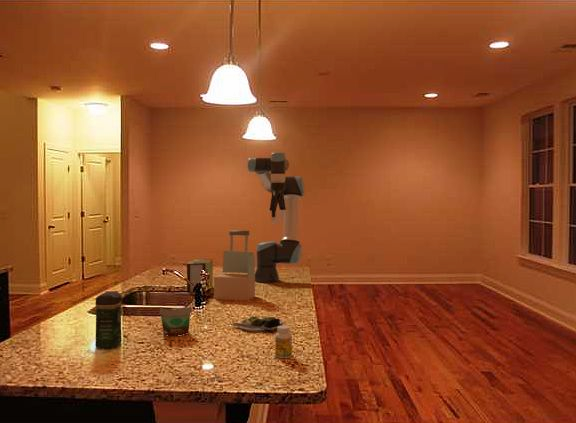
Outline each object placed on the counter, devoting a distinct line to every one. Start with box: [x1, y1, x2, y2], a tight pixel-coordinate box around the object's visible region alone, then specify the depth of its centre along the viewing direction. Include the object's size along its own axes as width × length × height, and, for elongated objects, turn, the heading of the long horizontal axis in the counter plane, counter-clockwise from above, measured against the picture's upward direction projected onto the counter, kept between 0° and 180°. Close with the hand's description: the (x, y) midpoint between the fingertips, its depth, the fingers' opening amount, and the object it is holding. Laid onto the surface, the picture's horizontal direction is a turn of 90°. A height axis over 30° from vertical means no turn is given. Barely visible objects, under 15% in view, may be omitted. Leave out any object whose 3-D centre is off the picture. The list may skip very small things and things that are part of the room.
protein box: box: [186, 259, 214, 293], centre depth 272 cm, size 10×15×16 cm
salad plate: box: [232, 316, 283, 333], centre depth 198 cm, size 19×18×5 cm
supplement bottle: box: [274, 325, 293, 359], centre depth 162 cm, size 5×5×10 cm
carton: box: [213, 254, 256, 302], centre depth 252 cm, size 10×18×21 cm, turn 76°
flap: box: [222, 230, 255, 274], centre depth 258 cm, size 22×16×2 cm
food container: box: [158, 304, 193, 337], centre depth 186 cm, size 12×6×10 cm, turn 117°
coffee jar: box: [94, 290, 123, 350], centre depth 173 cm, size 10×8×19 cm
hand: (277, 222), depth 264 cm, fingers open, 13 cm apart
